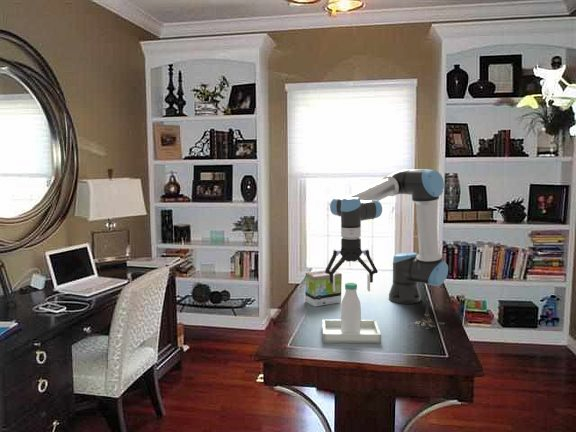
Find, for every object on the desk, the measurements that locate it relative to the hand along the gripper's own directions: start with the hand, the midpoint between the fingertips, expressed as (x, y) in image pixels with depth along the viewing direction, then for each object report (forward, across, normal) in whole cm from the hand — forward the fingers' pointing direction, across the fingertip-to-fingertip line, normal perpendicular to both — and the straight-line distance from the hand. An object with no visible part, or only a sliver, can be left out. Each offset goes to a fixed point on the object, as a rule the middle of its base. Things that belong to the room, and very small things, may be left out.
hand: (351, 290), depth 187 cm
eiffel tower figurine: (+20, +32, +11) cm, 39 cm away
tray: (+18, 0, 0) cm, 18 cm away
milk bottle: (+17, 0, 0) cm, 17 cm away
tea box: (+19, -10, +42) cm, 47 cm away
